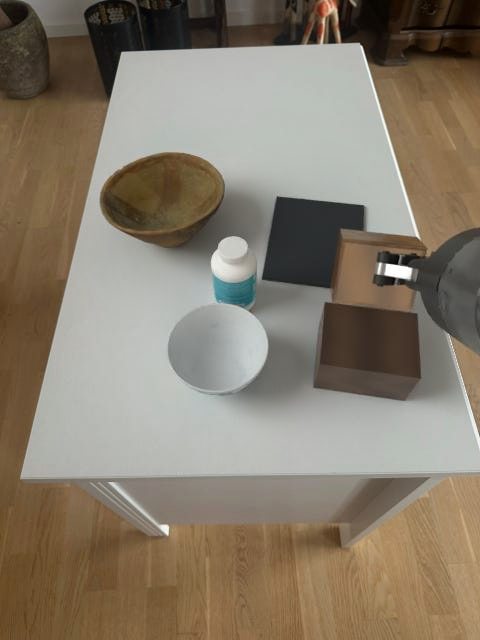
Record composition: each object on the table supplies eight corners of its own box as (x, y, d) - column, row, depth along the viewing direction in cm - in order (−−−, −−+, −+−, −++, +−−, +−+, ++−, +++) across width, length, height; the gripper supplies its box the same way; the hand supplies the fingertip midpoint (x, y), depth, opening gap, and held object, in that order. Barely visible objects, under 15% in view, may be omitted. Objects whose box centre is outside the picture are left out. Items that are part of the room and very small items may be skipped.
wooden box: (411, 312, 67) (402, 296, 73) (427, 247, 63) (417, 236, 69) (331, 302, 68) (330, 287, 75) (342, 238, 64) (340, 228, 70)
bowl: (120, 193, 95) (107, 153, 86) (226, 190, 95) (224, 149, 86) (105, 273, 83) (89, 235, 74) (227, 269, 83) (224, 231, 74)
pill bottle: (262, 308, 78) (265, 257, 66) (223, 321, 76) (218, 272, 65) (246, 277, 81) (246, 224, 70) (209, 289, 80) (202, 237, 69)
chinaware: (210, 431, 66) (206, 413, 59) (156, 362, 72) (147, 338, 66) (286, 374, 71) (289, 351, 64) (228, 314, 77) (226, 287, 71)
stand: (402, 340, 74) (417, 313, 67) (404, 401, 68) (421, 378, 61) (318, 328, 75) (324, 301, 68) (312, 387, 69) (319, 364, 63)
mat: (363, 207, 91) (364, 205, 90) (361, 292, 79) (361, 290, 79) (276, 198, 93) (276, 196, 92) (261, 279, 81) (261, 277, 81)
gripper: (659, 240, 23) (509, 235, 40) (403, 213, 25) (362, 219, 42) (617, 374, 25) (490, 316, 42) (379, 341, 26) (349, 297, 43)
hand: (426, 268), depth 42 cm, fingers closed
